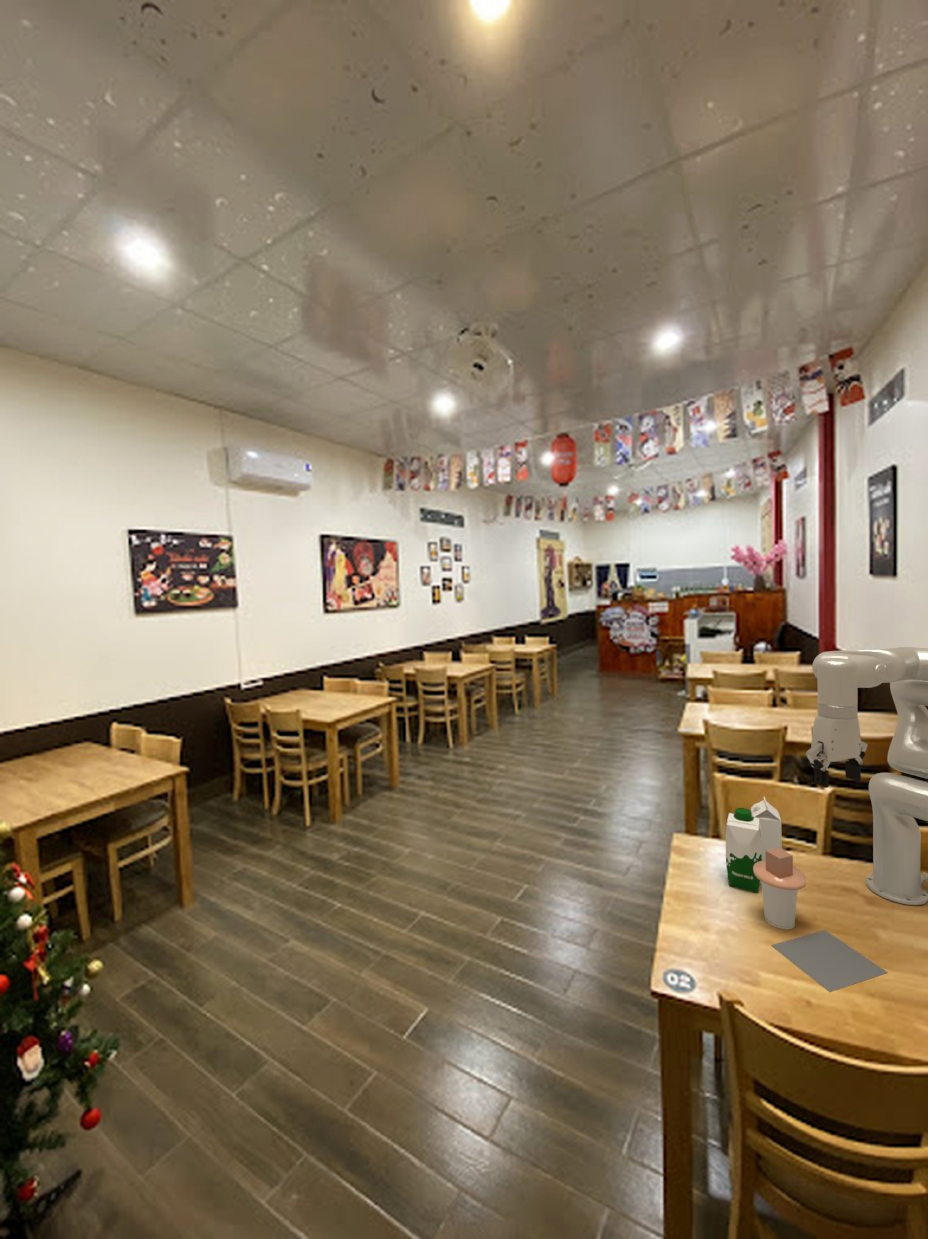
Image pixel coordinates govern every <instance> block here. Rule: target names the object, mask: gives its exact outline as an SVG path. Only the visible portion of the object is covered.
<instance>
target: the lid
mask: <svg viewBox="0 0 928 1239" xmlns="http://www.w3.org/2000/svg"><path fill="white" fill-rule="evenodd" d="M793 860H794V855H792V854H791V853H789V852H787V851H785V850H783V849H780V848H774V849H770V850H766V860H765V861H759V862H757V863H755V864H754V866H753V872H754V875H755V876H756V877H757V878H758V879H759V880H760V882H761V881H762V882H764V883H765V884H767V885H770V886H772V887H775V888H779V889H784V890H798V891H799V890H801V889H803V888H805V887H806V885H807V877H806V875H805V873H804V872H803V871H801V870H800V869H798V867H795V866H793V864H794V861H793Z"/></svg>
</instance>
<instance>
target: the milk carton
mask: <svg viewBox="0 0 928 1239" xmlns="http://www.w3.org/2000/svg"><path fill="white" fill-rule="evenodd" d="M750 811H751V813H752V817H754V818H759V820H760V826H761V836H762V861H765V860H766V850H770V849H774V848H780V849H782V844H783V843H782V836H783V835H782V819H781V815H780V813H779V810H778V809H776V808H775V807H774V806H772V805H771V804H770V803H769V802H768V801H767V800H766V797H765V796H763V800H761V801H759V802H757V803H754V804H753V805H752V806H751V807H750ZM782 850H783V849H782Z"/></svg>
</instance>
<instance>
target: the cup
mask: <svg viewBox="0 0 928 1239" xmlns="http://www.w3.org/2000/svg"><path fill="white" fill-rule="evenodd" d="M760 886H761V891H762V900H763V912H764V915H763V916H764V920H765V921H766V922H767V923H768V924H769V925H771V926H773V927H775V928H778V929H781V930H791V929H793V928H795V924H796V922H795V921H796V912H797V911H796V910H797V898H798V891H799V890H784V889H779V888H775V887H772V886H770V885H767V884H765V883H764V882H762V881H760Z"/></svg>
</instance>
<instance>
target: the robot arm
mask: <svg viewBox="0 0 928 1239" xmlns="http://www.w3.org/2000/svg"><path fill="white" fill-rule="evenodd" d="M811 667H812V672H813V675H814V676H815V678H816V679H817V680H816V681H817V715H816V716H815V717H814V721H813V727H812V734H811V747H810V748H809V749H807V751H806V752H805V755H806V757H807V759H808V763H809V764H810V765H811V767H812V768H813V783H814V784H815V785H818V786H820V787H822V788H829V785H830V783H829V782H830V781H829V780H830V777H829V776H830V775H829V774H830V772H829V770H827V769H828V768H829V766H830V764H831V763H835V762H841V761H845V765H844V766H845V772H844V773H845V777H846V778H847V779H850V780H852V781H855V782H860V781H861V779H862V778H861V776H862V775H861V774H862V773H861V772H862V768H861V767H862V765H863V762H864V761H863V759H864V758H865V756H866V751H867V749H868V743H866V742H864V741H862V737H861V728H860V722H859V717H858V699H859V698H858V692H859V691H858V688H861V689H862V688H863V689H865V688H867V689H869V688H874V687H878V686H880V685H881V684H882V683H883V684H885V683H887V684H890V685H889V688H890V694H891V696H892V700H893V702H894V706H895V709H896V713H897V725H896V728H895V730H894V733H893V736H892V739H891V742H890V745H889V748H888V751H887V757H886V758H887V763H888V766H889V767H891V768H892V769H894V770H896V771H898V772H901V773H905V774H909V775H912V776H916V777H920V778H924V779H927V780H928V709H927V707H928V648H927V647H925V648H924V647H914V646H913V647H912V646H902V647H892V648H891V647H890V648H881V649H876V648H875V649H853V650H851V649H850V650H831V651H823V652H821V653H819V654H818V655H816V657H815V658H814V660H813V662H812V666H811ZM822 761H823V763H822ZM868 794H869V797H870V801H871V806H872V819H873V824H872V828H873V829H872V830H873V832H872V835H873V836H872V838H873V841H872V844H873V845H872V848H873V849H872V850H873V852H872V856H873V858H872V860H873V861H872V862H873V864H872V867H873V868H872V870H873V872H872V874H868V875H867V876H866V878H865V884H866V886H867V887H868V889H870V890H871V891H872V892H873V893H874V894H876V895H878V897H882V898H883V899H886V900H889V901H891V902H894V903H898V904H903V905H908V906H909V905H910V906H921V905H925V904H926V903H927V902H928V891H926V889H924V888H923V887H922V884H924V882H928V873H927V872H926V871H925V872H921V850H922V848H921V845H922V844H921V843H922V842H921V841H922V834H921V830H920V829H921V828H920V827H919V825H918V823H917V820H916V819H919V820H922V821H926V822H928V781H924V780H920V779H918V778H912V777H910V776H905V775H901V774H898V773H892V772H880V773H879V772H878V773H876V774H874V775H873V776H872V777H871V778H870V780H869V783H868Z"/></svg>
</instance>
